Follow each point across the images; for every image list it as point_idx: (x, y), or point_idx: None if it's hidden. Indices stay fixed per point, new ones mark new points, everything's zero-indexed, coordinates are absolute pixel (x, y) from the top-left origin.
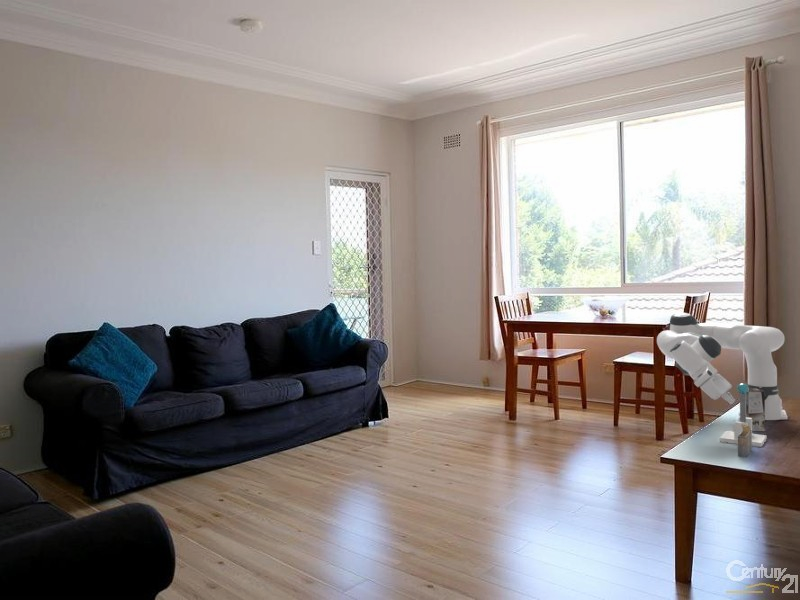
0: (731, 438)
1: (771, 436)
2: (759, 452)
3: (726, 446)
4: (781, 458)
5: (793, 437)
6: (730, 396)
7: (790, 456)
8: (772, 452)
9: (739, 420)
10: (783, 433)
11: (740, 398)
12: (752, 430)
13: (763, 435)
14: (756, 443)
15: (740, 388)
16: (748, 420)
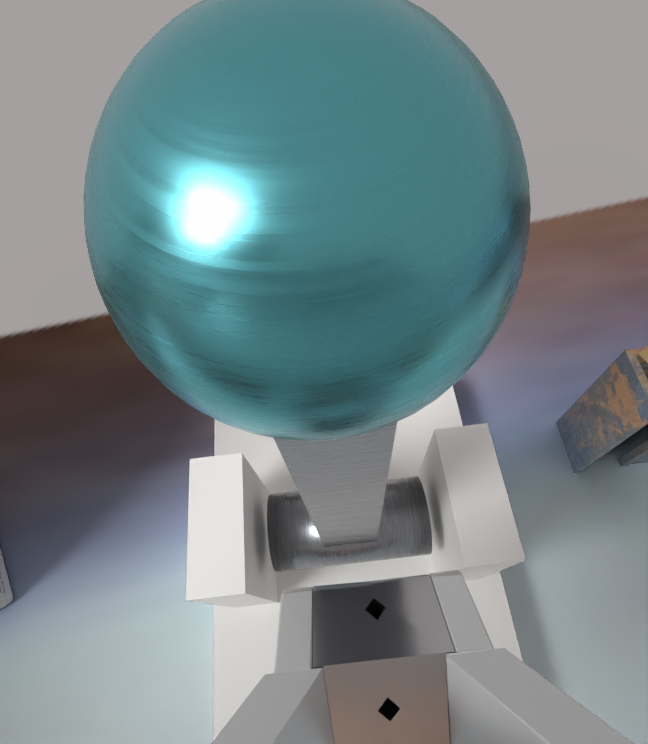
0: (480, 606)
1: (122, 417)
2: (589, 366)
3: (629, 601)
4: (611, 251)
5: (94, 316)
6: (298, 733)
7: (533, 233)
8: (526, 313)
9: (251, 583)
10: (7, 381)
11: (391, 427)
12: (5, 571)
13: (226, 425)
14: (457, 412)
15: (524, 222)
16: (245, 485)
